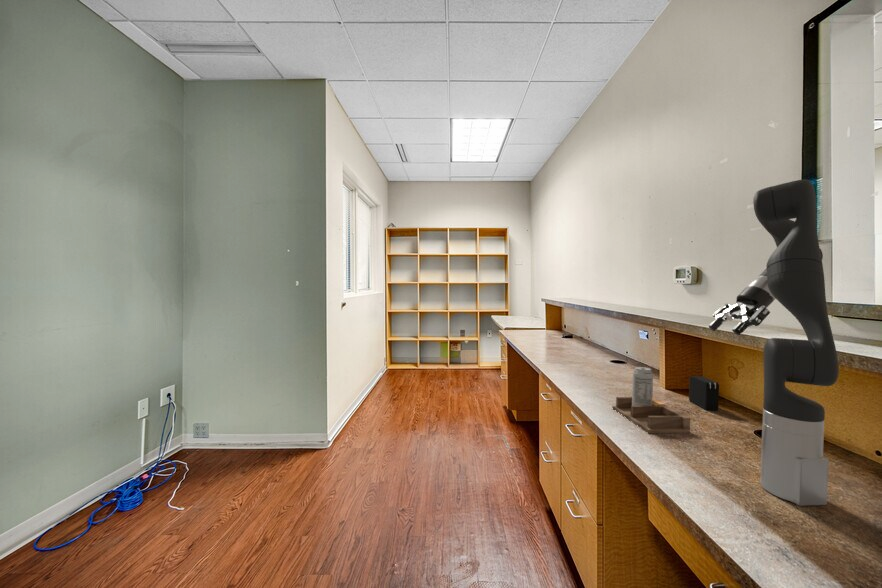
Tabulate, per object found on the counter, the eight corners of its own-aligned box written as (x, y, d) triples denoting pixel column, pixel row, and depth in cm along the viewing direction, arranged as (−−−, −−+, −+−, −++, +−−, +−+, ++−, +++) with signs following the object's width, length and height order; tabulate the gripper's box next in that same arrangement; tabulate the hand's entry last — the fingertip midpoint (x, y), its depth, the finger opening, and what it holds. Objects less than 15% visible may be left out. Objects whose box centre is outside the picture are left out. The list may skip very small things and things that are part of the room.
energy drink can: (652, 410, 120) (653, 367, 119) (651, 416, 115) (652, 371, 114) (632, 407, 123) (633, 365, 122) (631, 412, 118) (632, 369, 117)
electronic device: (700, 401, 132) (701, 375, 132) (718, 411, 123) (719, 383, 122) (688, 401, 133) (689, 375, 133) (705, 410, 123) (706, 382, 123)
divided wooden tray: (689, 432, 105) (690, 416, 105) (648, 433, 104) (648, 417, 104) (647, 408, 125) (647, 395, 125) (612, 408, 124) (612, 395, 124)
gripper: (731, 285, 113) (696, 319, 113) (775, 285, 99) (735, 325, 99) (746, 301, 114) (711, 335, 114) (792, 303, 100) (752, 343, 99)
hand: (722, 330), depth 106 cm, fingers open, 8 cm apart
